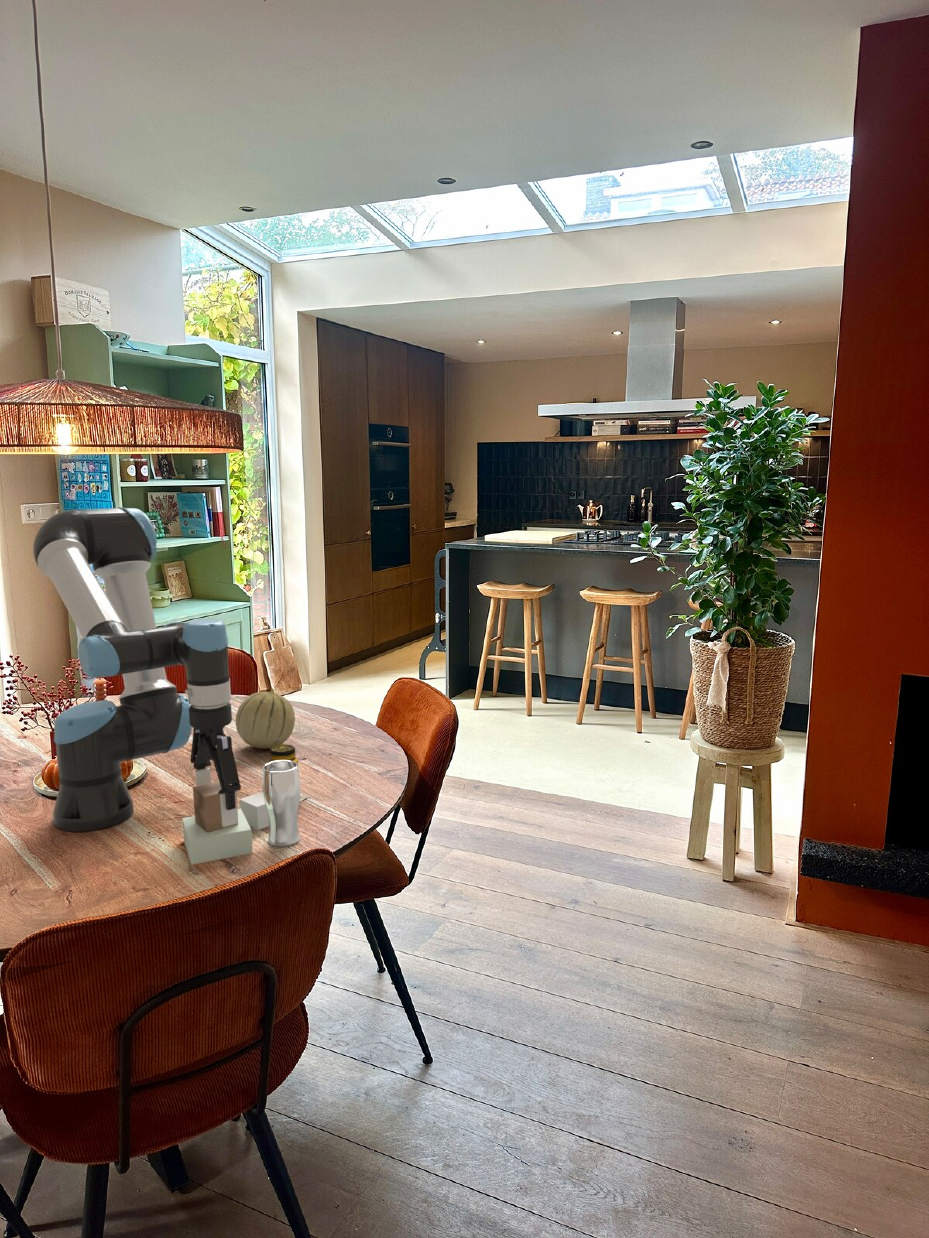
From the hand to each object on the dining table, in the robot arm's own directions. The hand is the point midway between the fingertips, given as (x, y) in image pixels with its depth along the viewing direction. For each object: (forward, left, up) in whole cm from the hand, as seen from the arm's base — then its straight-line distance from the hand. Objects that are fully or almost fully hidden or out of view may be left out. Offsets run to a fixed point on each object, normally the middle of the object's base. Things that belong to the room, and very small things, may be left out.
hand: (217, 812), depth 159 cm
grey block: (-6, +11, -7) cm, 14 cm away
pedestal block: (0, 0, -7) cm, 7 cm away
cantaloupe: (-49, +30, -7) cm, 58 cm away
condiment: (-14, +19, -7) cm, 25 cm away
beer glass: (+5, +11, -7) cm, 14 cm away
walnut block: (0, 0, -2) cm, 2 cm away
